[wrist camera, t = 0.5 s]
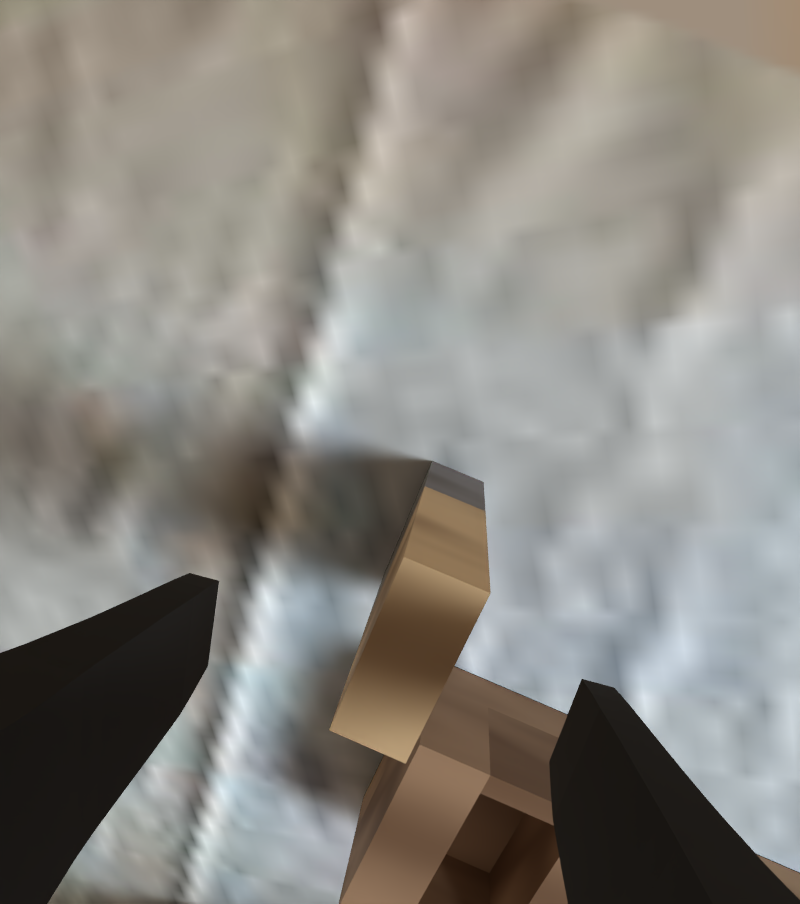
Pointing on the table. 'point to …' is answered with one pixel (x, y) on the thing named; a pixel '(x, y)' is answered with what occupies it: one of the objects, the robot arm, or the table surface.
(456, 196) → the table surface
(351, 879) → the post
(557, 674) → the table surface
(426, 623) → the tan square peg
